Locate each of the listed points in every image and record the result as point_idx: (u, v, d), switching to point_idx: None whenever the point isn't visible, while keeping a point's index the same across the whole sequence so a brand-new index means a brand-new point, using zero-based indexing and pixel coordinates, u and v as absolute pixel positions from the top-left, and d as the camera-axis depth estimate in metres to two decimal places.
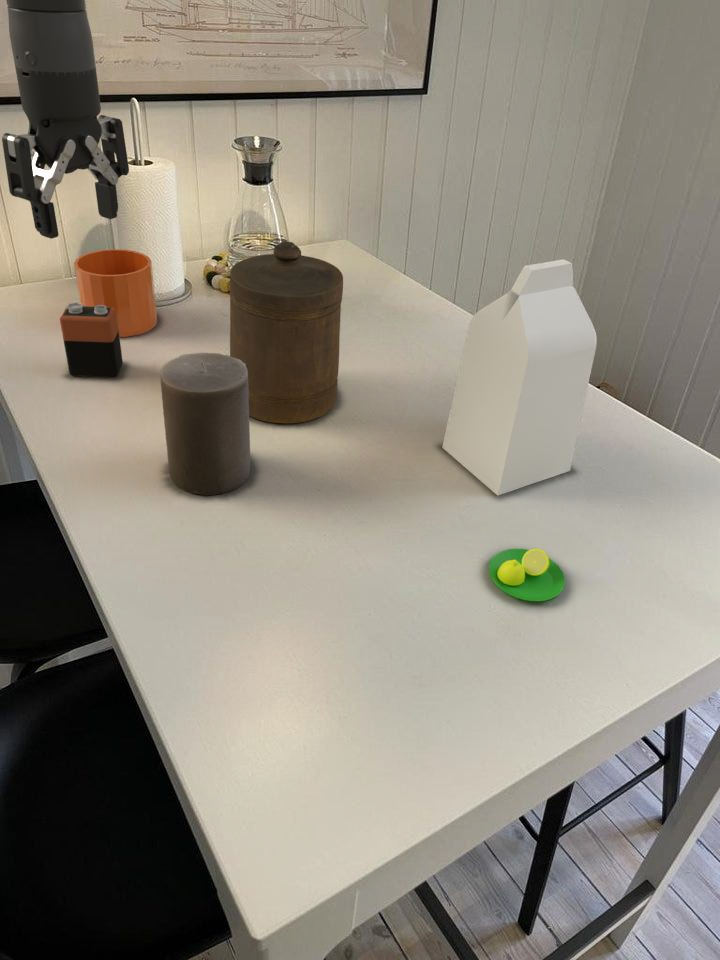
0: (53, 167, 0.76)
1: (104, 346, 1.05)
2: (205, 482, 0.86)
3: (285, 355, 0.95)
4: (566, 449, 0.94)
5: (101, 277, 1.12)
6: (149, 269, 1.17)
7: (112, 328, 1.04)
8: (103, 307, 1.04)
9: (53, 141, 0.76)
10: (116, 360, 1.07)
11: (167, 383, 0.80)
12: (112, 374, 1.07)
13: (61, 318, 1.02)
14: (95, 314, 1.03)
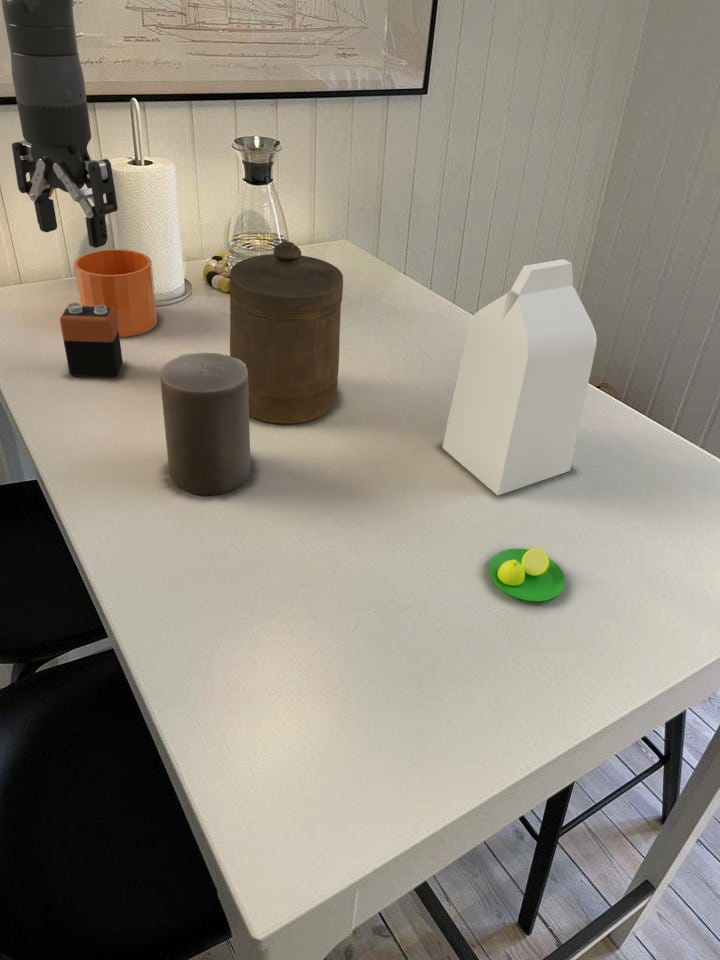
0: None
1: (104, 346, 1.05)
2: (205, 482, 0.86)
3: (285, 356, 0.95)
4: (567, 448, 0.94)
5: (101, 277, 1.12)
6: (149, 269, 1.17)
7: (112, 328, 1.04)
8: (103, 307, 1.04)
9: (37, 156, 0.90)
10: (116, 360, 1.07)
11: (167, 383, 0.80)
12: (112, 374, 1.07)
13: (61, 318, 1.02)
14: (95, 314, 1.03)
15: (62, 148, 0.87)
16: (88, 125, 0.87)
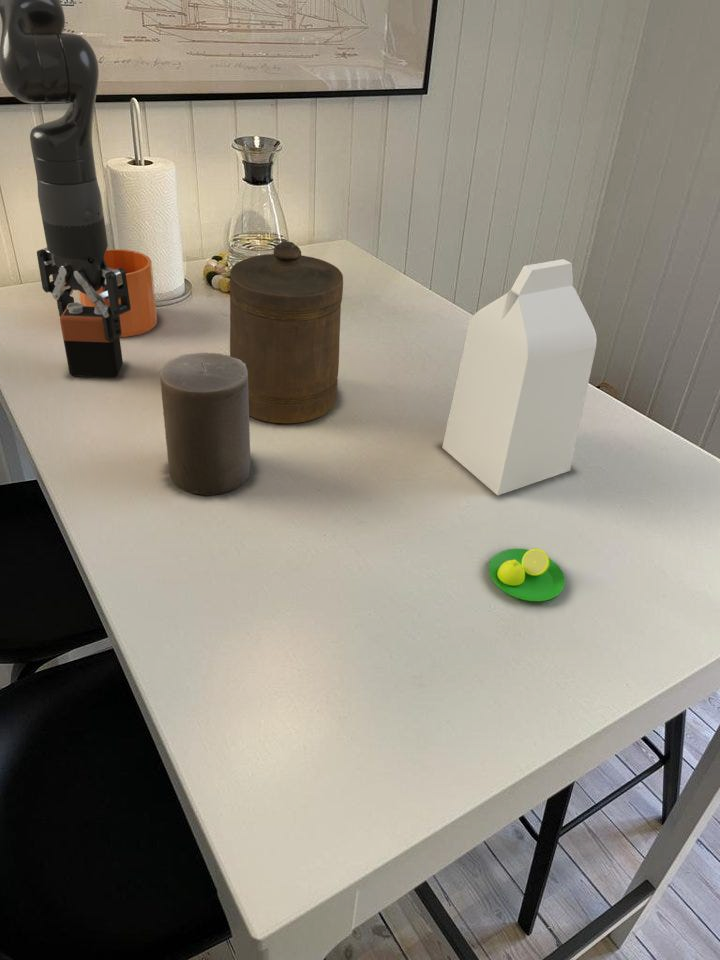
0: None
1: (104, 346, 1.05)
2: (205, 482, 0.86)
3: (285, 355, 0.95)
4: (567, 448, 0.94)
5: None
6: (149, 269, 1.17)
7: None
8: None
9: (59, 262, 1.00)
10: (116, 360, 1.07)
11: (167, 383, 0.80)
12: (112, 374, 1.07)
13: (61, 318, 1.02)
14: (95, 314, 1.03)
15: (82, 258, 0.97)
16: (105, 237, 0.98)
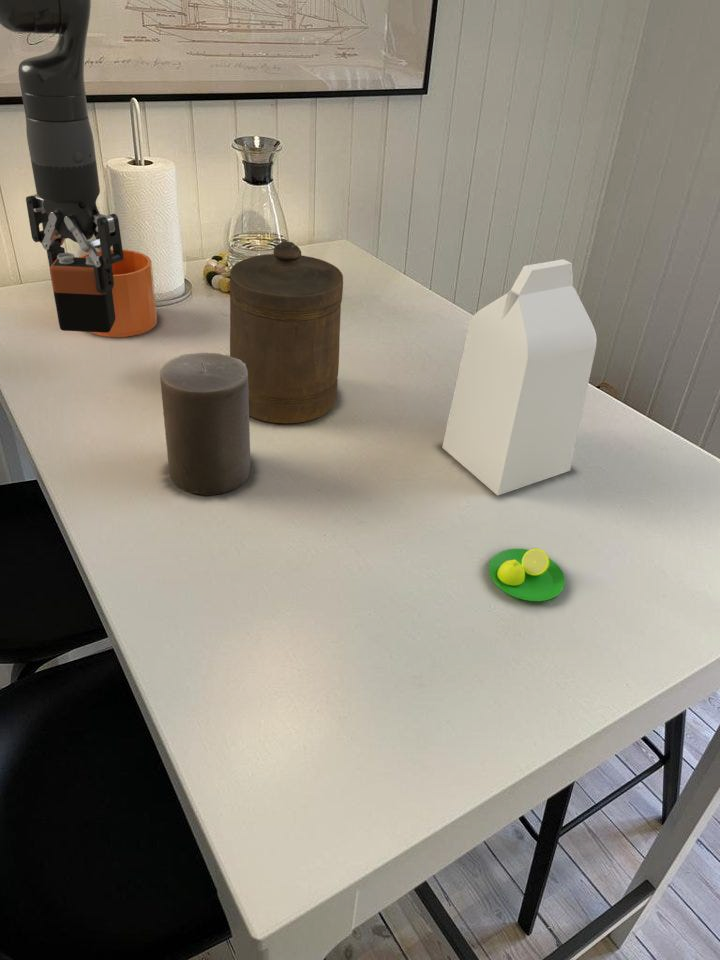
0: None
1: (96, 299, 1.00)
2: (205, 482, 0.86)
3: (285, 355, 0.95)
4: (567, 448, 0.94)
5: None
6: (149, 269, 1.17)
7: None
8: None
9: (49, 209, 0.96)
10: (108, 314, 1.03)
11: (167, 383, 0.80)
12: (104, 329, 1.03)
13: (51, 268, 0.98)
14: (86, 265, 0.99)
15: (73, 203, 0.93)
16: (97, 181, 0.94)
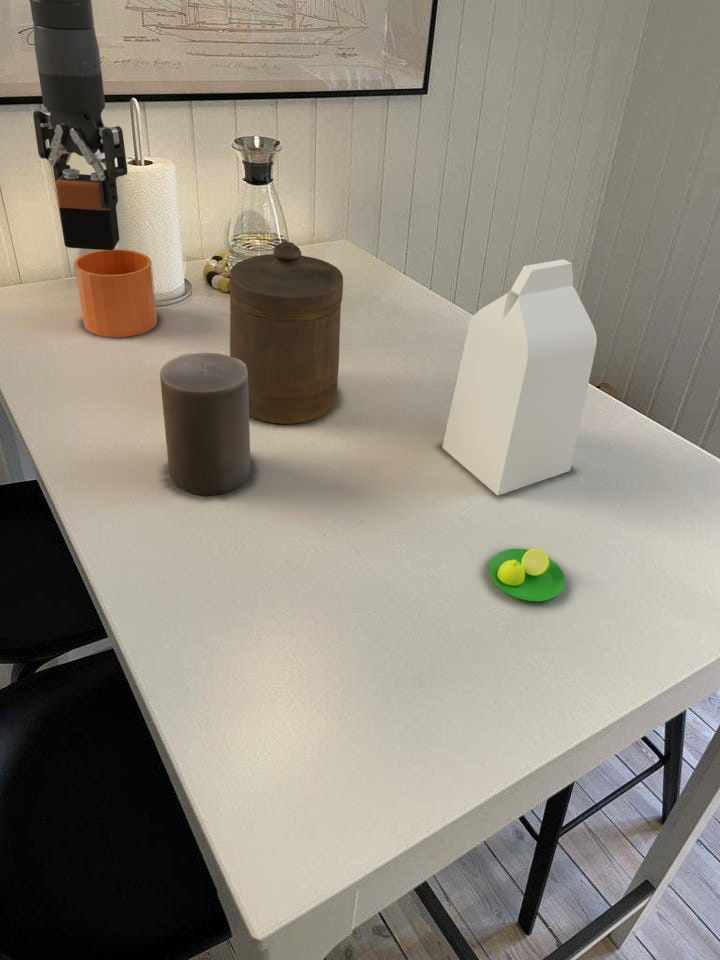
0: None
1: (100, 215, 1.03)
2: (205, 482, 0.86)
3: (285, 356, 0.95)
4: (567, 449, 0.94)
5: (101, 277, 1.12)
6: (149, 269, 1.17)
7: None
8: None
9: (56, 123, 0.98)
10: (112, 232, 1.05)
11: (167, 383, 0.80)
12: (108, 246, 1.05)
13: (57, 182, 1.00)
14: (91, 180, 1.01)
15: (78, 115, 0.95)
16: (102, 94, 0.96)
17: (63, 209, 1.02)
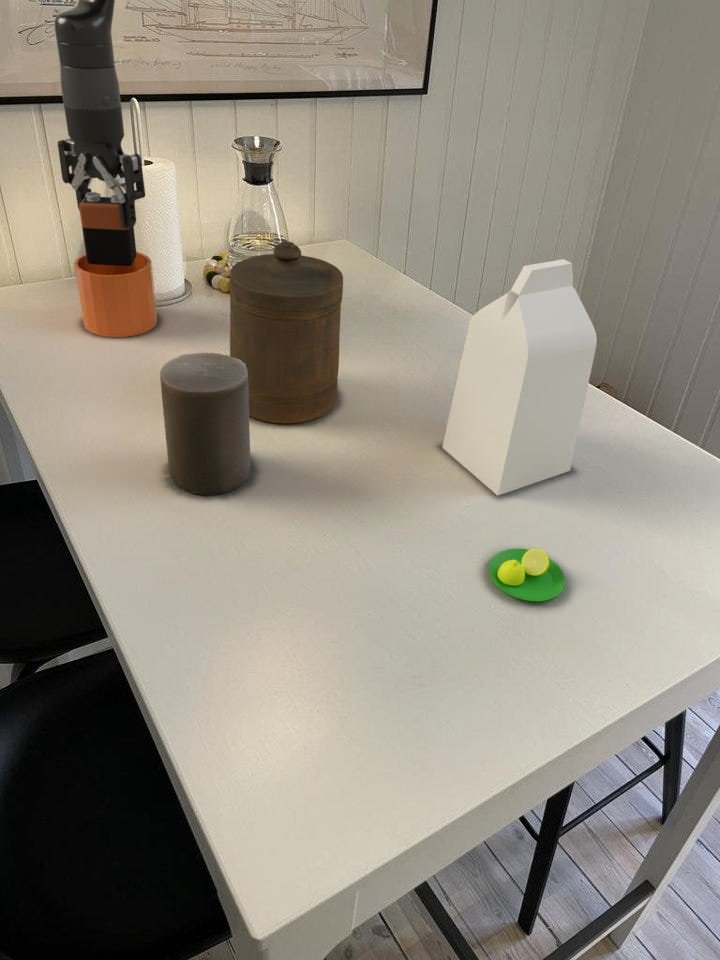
0: None
1: (120, 234, 1.12)
2: (205, 482, 0.86)
3: (285, 355, 0.95)
4: (567, 449, 0.94)
5: (101, 277, 1.12)
6: (149, 269, 1.17)
7: None
8: None
9: (79, 151, 1.07)
10: (131, 249, 1.14)
11: (167, 383, 0.80)
12: (127, 262, 1.15)
13: (80, 205, 1.09)
14: (112, 202, 1.10)
15: (100, 144, 1.05)
16: (122, 125, 1.05)
17: (86, 229, 1.11)
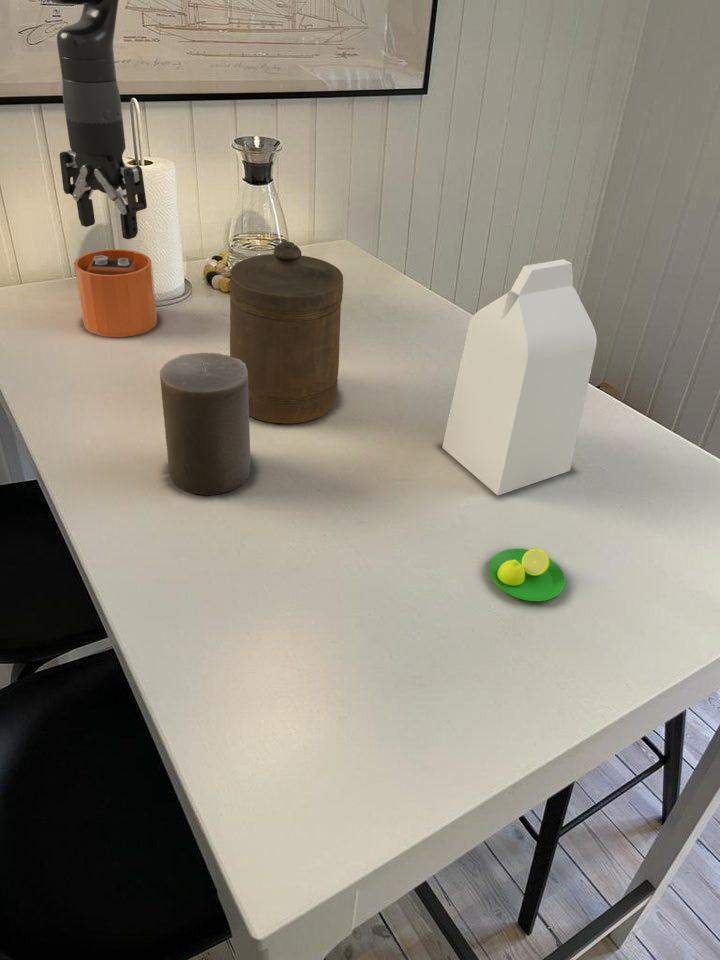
0: None
1: None
2: (205, 482, 0.86)
3: (285, 355, 0.95)
4: (567, 448, 0.94)
5: (101, 277, 1.12)
6: (149, 269, 1.17)
7: None
8: (125, 260, 1.17)
9: (81, 163, 1.08)
10: None
11: (167, 383, 0.80)
12: None
13: (88, 268, 1.15)
14: (118, 265, 1.16)
15: (102, 157, 1.05)
16: (123, 138, 1.06)
17: None
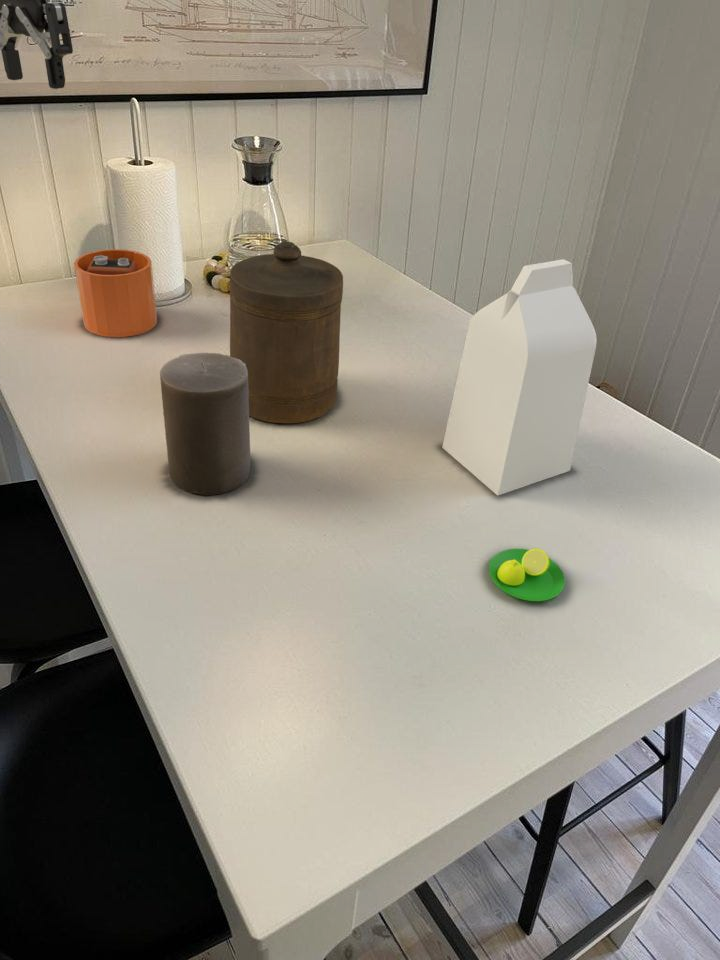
0: None
1: None
2: (205, 482, 0.86)
3: (285, 355, 0.95)
4: (567, 448, 0.94)
5: (101, 277, 1.12)
6: (149, 269, 1.17)
7: None
8: (125, 260, 1.17)
9: (2, 4, 1.03)
10: None
11: (167, 383, 0.80)
12: None
13: (89, 268, 1.15)
14: (118, 265, 1.16)
15: None
16: None
17: None
